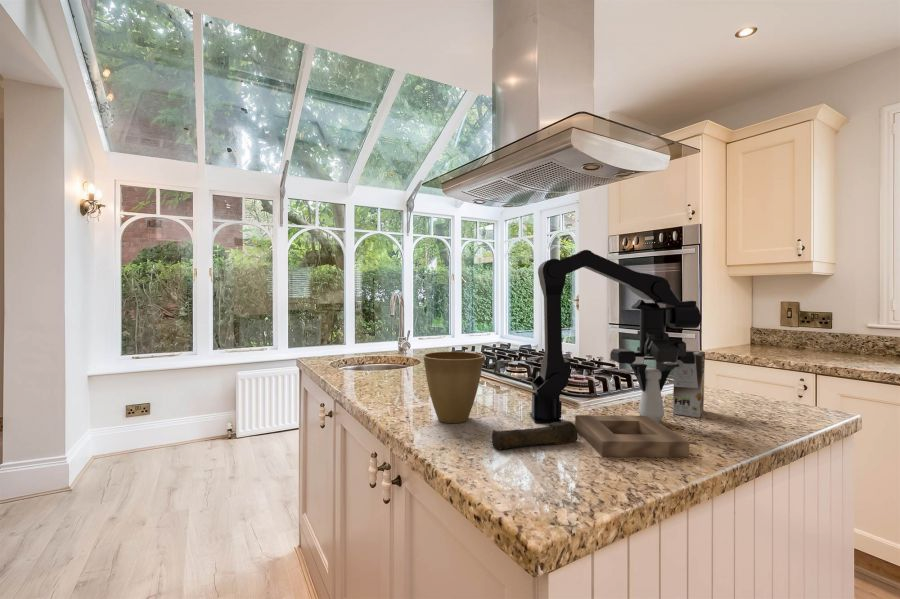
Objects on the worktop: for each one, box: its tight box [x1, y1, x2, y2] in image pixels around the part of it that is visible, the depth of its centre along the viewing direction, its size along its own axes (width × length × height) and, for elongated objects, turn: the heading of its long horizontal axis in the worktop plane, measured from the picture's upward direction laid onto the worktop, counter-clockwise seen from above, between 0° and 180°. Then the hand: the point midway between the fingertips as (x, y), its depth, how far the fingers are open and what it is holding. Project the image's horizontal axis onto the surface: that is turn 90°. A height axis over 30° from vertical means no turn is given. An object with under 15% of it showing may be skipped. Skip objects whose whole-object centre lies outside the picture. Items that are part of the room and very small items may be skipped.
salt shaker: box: [637, 367, 665, 424], centre depth 104 cm, size 6×6×13 cm
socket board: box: [574, 414, 691, 458], centre depth 90 cm, size 17×17×3 cm
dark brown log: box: [491, 420, 579, 451], centre depth 87 cm, size 19×4×5 cm, turn 103°
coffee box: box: [672, 350, 706, 419], centre depth 112 cm, size 9×6×16 cm
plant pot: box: [423, 351, 484, 424], centre depth 105 cm, size 15×15×16 cm
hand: (651, 390), depth 104 cm, fingers closed on salt shaker, 4 cm apart
